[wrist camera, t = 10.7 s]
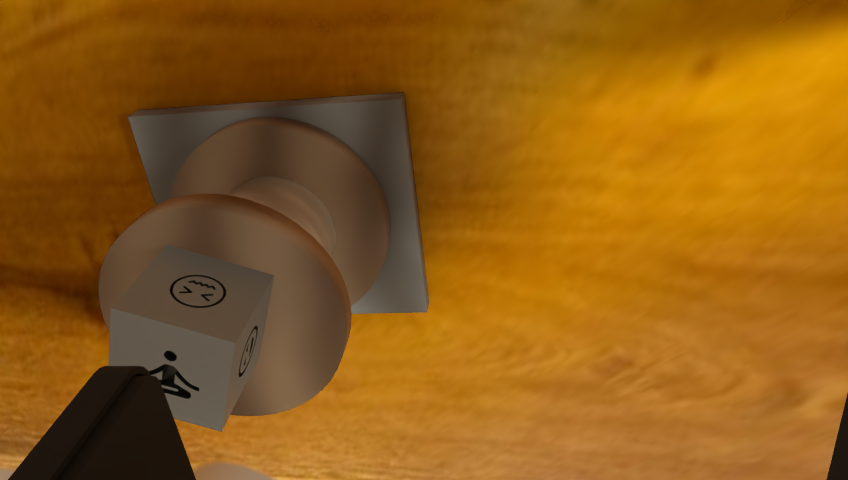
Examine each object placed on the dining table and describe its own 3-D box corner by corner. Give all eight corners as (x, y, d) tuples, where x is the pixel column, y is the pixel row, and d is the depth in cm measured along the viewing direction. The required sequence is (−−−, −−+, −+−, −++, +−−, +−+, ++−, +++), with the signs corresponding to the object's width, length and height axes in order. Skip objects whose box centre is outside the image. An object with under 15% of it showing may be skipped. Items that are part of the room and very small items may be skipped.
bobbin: (403, 92, 39) (363, 178, 29) (428, 301, 45) (403, 431, 35) (137, 110, 41) (13, 195, 31) (198, 306, 48) (112, 429, 38)
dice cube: (159, 329, 34) (107, 399, 30) (166, 244, 31) (110, 307, 27) (259, 357, 34) (221, 431, 30) (274, 275, 32) (235, 343, 27)
